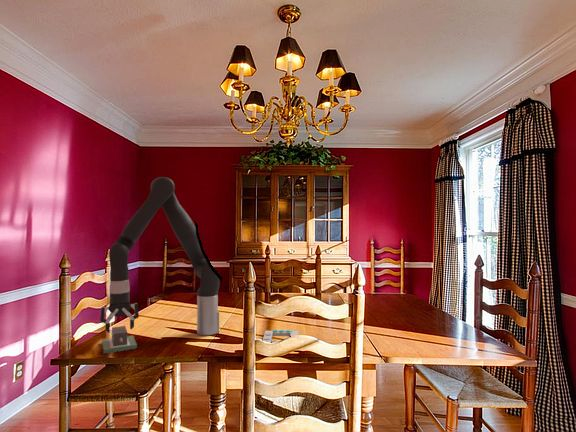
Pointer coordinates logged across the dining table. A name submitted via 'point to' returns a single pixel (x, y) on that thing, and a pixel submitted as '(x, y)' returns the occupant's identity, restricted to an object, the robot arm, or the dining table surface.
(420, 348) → the dining table surface
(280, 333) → the electronic device
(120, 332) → the plug housing
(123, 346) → the header board
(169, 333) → the dining table surface
